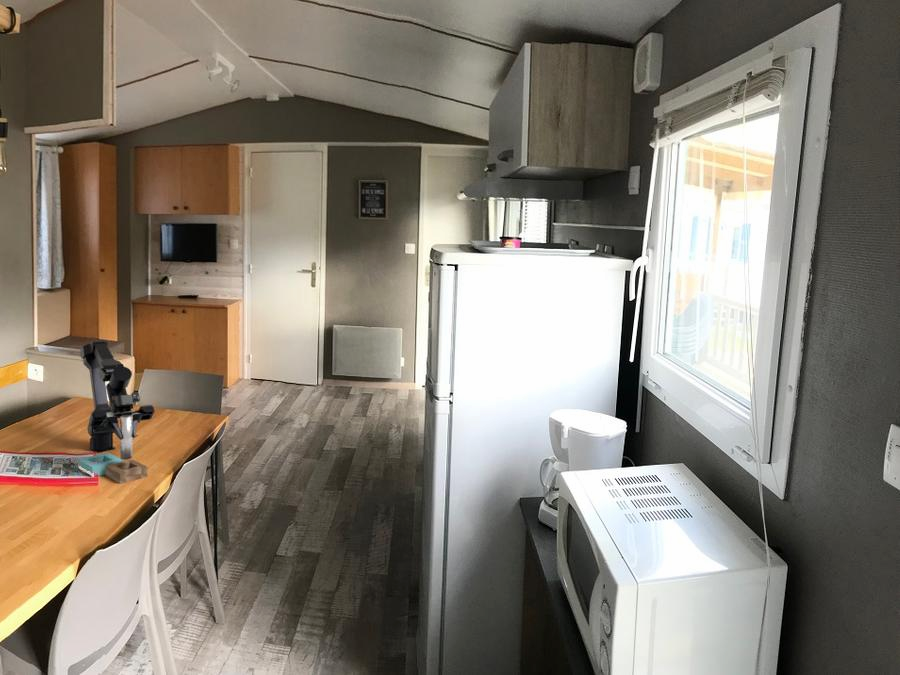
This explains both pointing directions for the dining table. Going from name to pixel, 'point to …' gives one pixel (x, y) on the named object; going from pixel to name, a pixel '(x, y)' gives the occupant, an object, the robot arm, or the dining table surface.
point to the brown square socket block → (126, 471)
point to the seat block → (98, 463)
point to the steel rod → (126, 437)
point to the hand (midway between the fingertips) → (127, 438)
